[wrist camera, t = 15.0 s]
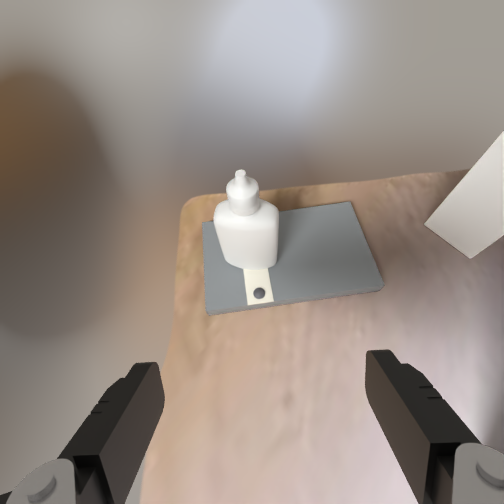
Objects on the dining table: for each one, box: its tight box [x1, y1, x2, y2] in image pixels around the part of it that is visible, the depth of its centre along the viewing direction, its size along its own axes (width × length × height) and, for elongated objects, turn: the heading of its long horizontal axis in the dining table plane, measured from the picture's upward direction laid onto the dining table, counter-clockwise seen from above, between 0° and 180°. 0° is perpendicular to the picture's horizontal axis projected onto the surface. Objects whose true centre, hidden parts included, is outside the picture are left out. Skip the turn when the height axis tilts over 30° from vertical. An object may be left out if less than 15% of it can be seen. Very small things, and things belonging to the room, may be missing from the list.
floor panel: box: [202, 202, 385, 315], centre depth 29 cm, size 18×11×2 cm, turn 97°
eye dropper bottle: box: [214, 170, 279, 270], centre depth 23 cm, size 4×6×12 cm
